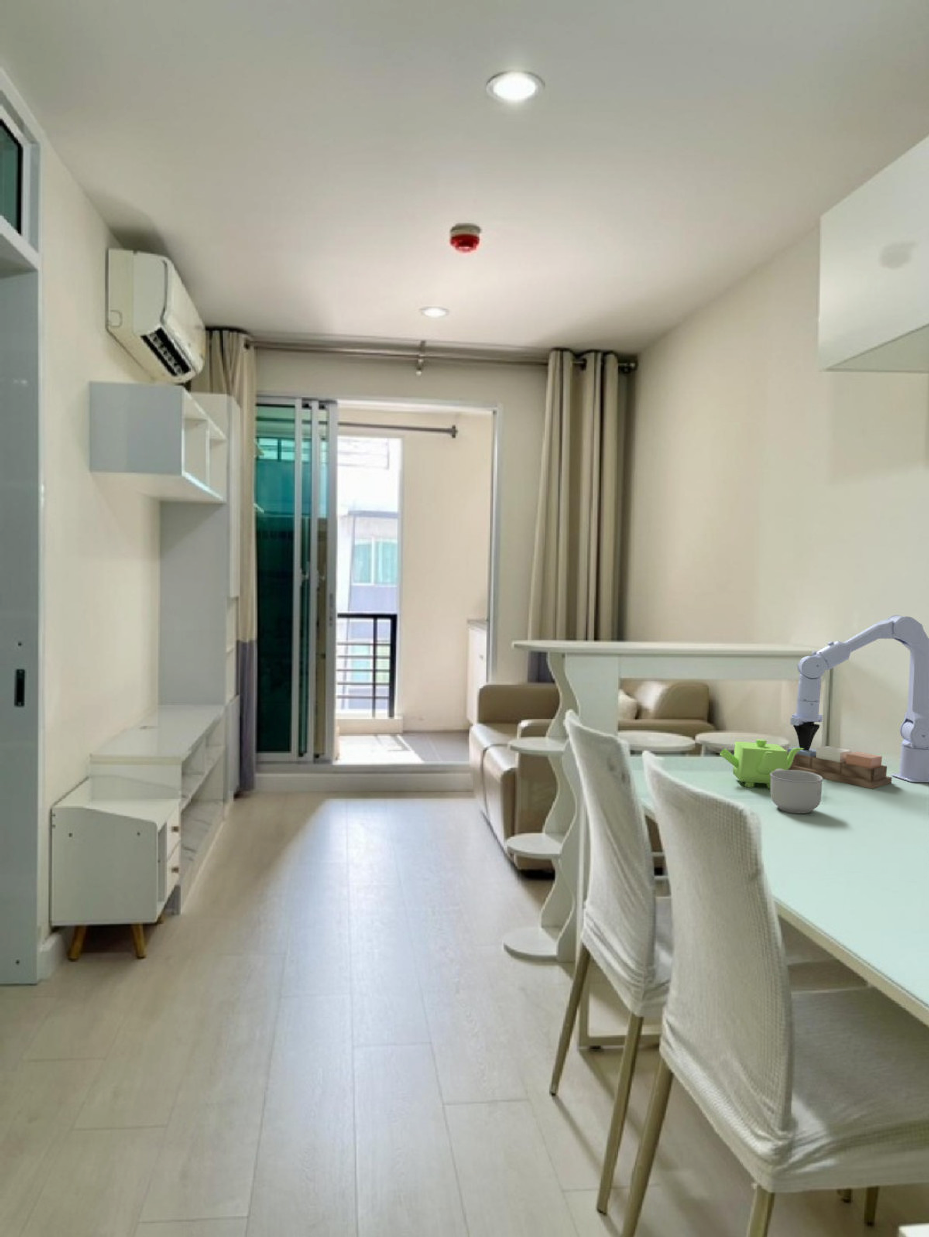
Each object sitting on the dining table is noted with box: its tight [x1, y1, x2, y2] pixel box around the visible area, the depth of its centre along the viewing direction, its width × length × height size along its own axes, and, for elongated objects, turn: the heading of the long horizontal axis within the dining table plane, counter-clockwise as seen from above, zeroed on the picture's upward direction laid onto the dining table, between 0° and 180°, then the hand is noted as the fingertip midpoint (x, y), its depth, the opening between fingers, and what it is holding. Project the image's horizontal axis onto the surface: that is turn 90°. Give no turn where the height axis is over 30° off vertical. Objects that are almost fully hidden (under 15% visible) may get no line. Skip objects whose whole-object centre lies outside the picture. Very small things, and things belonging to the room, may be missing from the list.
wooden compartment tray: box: [786, 750, 893, 789], centre depth 233 cm, size 26×12×4 cm, turn 43°
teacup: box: [770, 769, 824, 814], centre depth 195 cm, size 14×11×8 cm
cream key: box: [816, 745, 852, 763], centre depth 233 cm, size 6×6×3 cm
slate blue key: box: [787, 746, 817, 757], centre depth 239 cm, size 6×6×3 cm
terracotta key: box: [846, 751, 883, 769], centre depth 227 cm, size 6×6×3 cm
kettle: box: [719, 738, 804, 790], centre depth 217 cm, size 15×14×11 cm
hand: (804, 749), depth 239 cm, fingers closed, pressing on slate blue key
